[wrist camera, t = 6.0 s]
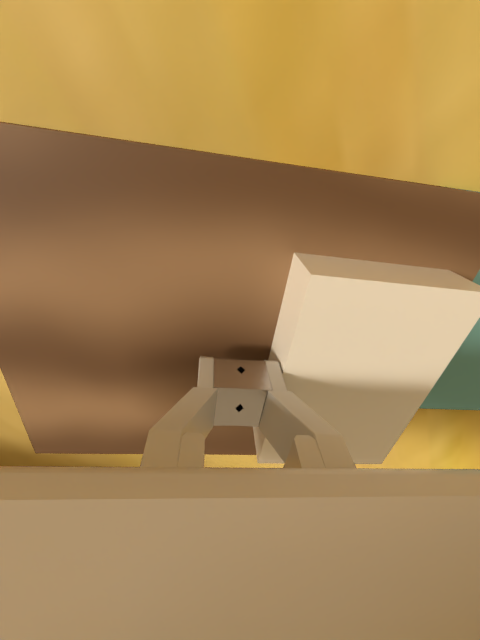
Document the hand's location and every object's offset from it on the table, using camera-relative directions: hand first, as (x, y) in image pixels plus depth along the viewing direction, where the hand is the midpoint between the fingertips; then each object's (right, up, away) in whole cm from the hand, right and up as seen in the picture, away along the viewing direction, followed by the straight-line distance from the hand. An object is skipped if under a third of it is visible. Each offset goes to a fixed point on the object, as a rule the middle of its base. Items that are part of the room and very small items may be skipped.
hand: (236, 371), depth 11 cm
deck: (-1, +3, +4) cm, 5 cm away
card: (+4, 0, +2) cm, 5 cm away
